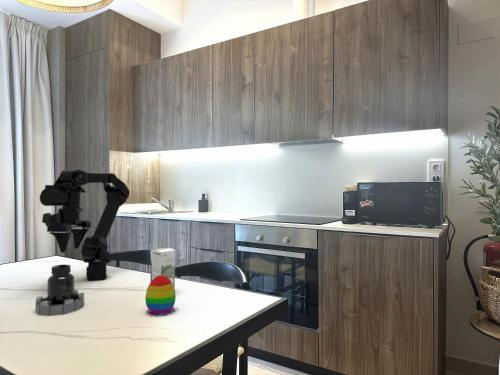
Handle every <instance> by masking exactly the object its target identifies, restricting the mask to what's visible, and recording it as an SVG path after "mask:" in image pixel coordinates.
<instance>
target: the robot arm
mask: <svg viewBox="0 0 500 375" xmlns="http://www.w3.org/2000/svg"><path fill="white" fill-rule="evenodd" d="M92 183H94V184H96V183H97V184H98V183H99V184H100V183H102V185H103V191H104V192H105V193H106V194H105V199H106V205H105V208H104V210H103V211H102V214H101V217H100V219H99V221H98V224H97V226H96V227H95V228H96V229H95V231H94V233H93V235H92V236H89V237H88V236H87V237H85V236H86V234H87V233H88V231H89V229H90V228H91V227H92V222H91V221H90V220H89V219H81V218H80V217H81V212H83V208H81V195H82V194H81V193H83V194H84V193H86V190H85V189H84V188H83V187H82V186H85V185H87V184H92ZM111 184H112V185H111ZM130 193H131V192H130V189H129V187H128V186H127V185H126V183H125V182H124V181H122V180H121V179H120V178H118V176H116V174H115V173H113V172H104V173H100V172H99V173H95V172H87V171H86V170H82V169H64V170H61V172H60V173H59V176H58V177H57V179H56V181H55V182H54V183H53V184H45V185H44V188H43V189H42V190H41V192H40V194H39V201H40V204H41V205H43V206H44V207H50V206H51V207H53V206H54V207H59V206H60V207H61V208H58V210H57V211H58V212H57V213H53V214H52V213H51V212H46V213H43V214H42V217H41V218H42V220H41V222H42V223H44V224H45V227H46V232H47V233H49V235H52V236H53V237H54V238H55V239H56V242H57V244H58V245H57V246H58V249H59V251H60V253H63V254H64V253H65V252H66V250H67V247H68V244H69V240H70V238H71V235H73V236H72V237H73V247H74V249H79V248H80V247H81V252H80V253H81V255H82V259H83V260H82V261H83V263H84V264H86V263H87V266H86V269H85V270H86V279H87V281H88V282H89V281H100V280H101V281H102V280H107V277H108V273H107V271H108V270H107V264H109V263H111V261H112V257H113V256H112V255H111V253H109V251H108V241H107V240H108V236H109V233H110V231H111V228H112V226H113V224H114V221H115V220H116V216H117V213H118V211H119V209H120V207H121V206H123V205H124V204H125V203H127V200H128V199H129V196H130ZM83 240H84V242H83ZM82 242H83V243H82ZM81 244H82V245H81Z"/></svg>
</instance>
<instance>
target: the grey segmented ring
mask: <svg viewBox="0 0 500 375" xmlns="http://www.w3.org/2000/svg"><path fill="white" fill-rule="evenodd" d="M84 306H85V292H79V290H78V289H74V301H73V299H72V298H70V299H66V300H63V304H56V305H51V301H47V295H46V296H44V297H43V296H40V295H39V296H36V298H35V309H34V310H35V313H36V314H37V315H38V316H48V317H49V316H59V315H60V316H61V315H66V314H69V313H74V312H76V311H78V310H80V309H83V308H84Z"/></svg>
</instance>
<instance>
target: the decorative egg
mask: <svg viewBox="0 0 500 375" xmlns="http://www.w3.org/2000/svg"><path fill="white" fill-rule="evenodd" d="M176 294H177V293H176V289H174V286H173V284H172V282H171V281H170V280H169V278H167V277H166V276H164V275H159V276H156V277H155V278H154V279H153V280H152V281H151V282H149V284H148V286H147V288H146V292H145V298H144V299H145V304H146V307H147V310H148V311H149V312H150V313H151V314H153V315H163V314H168V313H169V312H171V310H172V309H173V308H174V306H175V304H176V299H177V298H176V296H177V295H176Z"/></svg>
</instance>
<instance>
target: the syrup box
mask: <svg viewBox="0 0 500 375" xmlns="http://www.w3.org/2000/svg"><path fill="white" fill-rule="evenodd" d="M159 275H164V276H166V277H167V278H169V280H170V281H171V282H172V284H173V286H174V289H175V286H176V281H175V280H176V249H174V248H171V247H161V248H156V249H155V248H154V249H151V250H150V282H151V281H152V280H153V279H154V278H155V277H156V276H159ZM150 282H149V283H150ZM175 290H176V289H175Z"/></svg>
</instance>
